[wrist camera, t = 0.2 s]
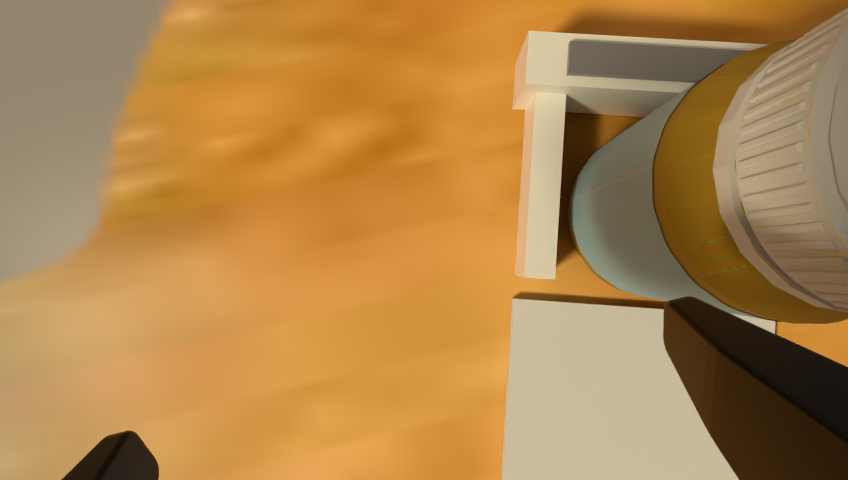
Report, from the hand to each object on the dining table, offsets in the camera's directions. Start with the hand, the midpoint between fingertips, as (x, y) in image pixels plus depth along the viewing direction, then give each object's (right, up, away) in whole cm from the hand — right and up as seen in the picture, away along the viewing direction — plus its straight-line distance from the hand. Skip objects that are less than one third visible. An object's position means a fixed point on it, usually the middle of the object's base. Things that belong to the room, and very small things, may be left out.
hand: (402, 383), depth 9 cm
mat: (+9, -6, +14) cm, 18 cm away
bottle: (+10, +3, +15) cm, 18 cm away
